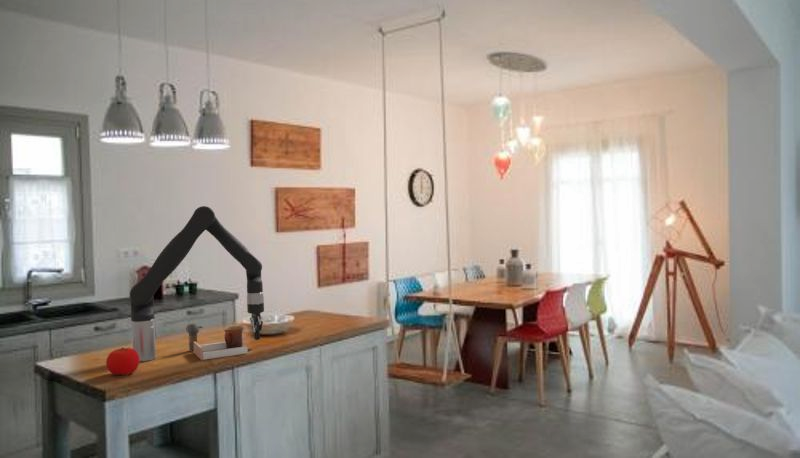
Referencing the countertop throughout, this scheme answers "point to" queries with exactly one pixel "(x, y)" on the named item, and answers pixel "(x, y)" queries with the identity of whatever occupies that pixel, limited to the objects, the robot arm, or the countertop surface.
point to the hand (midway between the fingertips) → (257, 339)
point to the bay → (203, 355)
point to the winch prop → (192, 334)
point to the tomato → (122, 361)
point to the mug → (233, 336)
